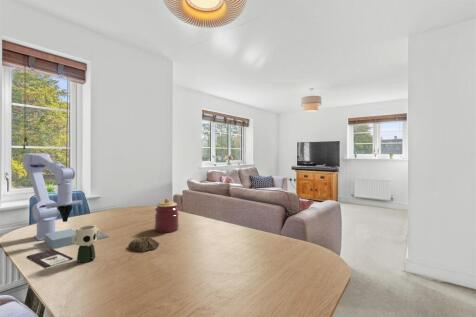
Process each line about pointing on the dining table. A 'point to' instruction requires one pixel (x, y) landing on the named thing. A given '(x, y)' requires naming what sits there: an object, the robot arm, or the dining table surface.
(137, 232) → the dining table surface
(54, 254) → the chocolate bar
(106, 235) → the mat
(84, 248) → the character mug
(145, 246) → the mossy rock
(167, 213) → the canister
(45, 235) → the plate
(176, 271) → the dining table surface
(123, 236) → the dining table surface
